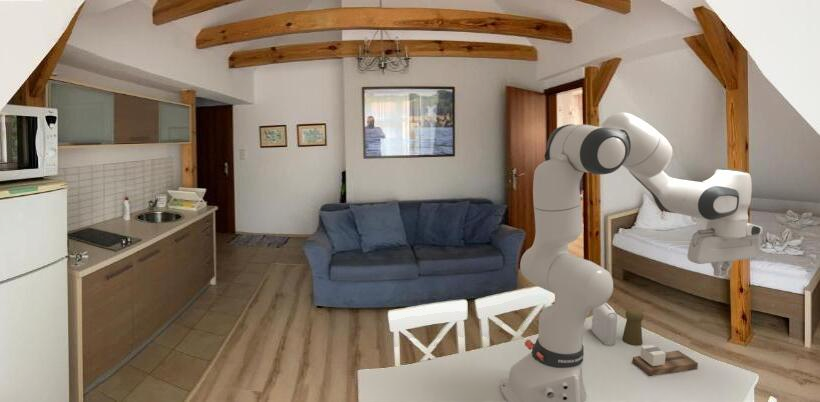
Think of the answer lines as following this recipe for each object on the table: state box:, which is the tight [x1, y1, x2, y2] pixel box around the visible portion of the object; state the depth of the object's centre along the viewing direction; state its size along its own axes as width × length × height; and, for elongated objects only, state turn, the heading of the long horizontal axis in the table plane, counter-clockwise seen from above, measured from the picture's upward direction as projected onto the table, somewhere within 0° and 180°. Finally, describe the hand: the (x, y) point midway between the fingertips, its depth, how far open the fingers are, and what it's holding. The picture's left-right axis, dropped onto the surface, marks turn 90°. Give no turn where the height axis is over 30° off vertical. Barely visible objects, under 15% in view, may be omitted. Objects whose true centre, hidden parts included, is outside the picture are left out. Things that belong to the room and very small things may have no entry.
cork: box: [621, 308, 644, 347], centre depth 134 cm, size 6×6×11 cm
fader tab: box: [639, 344, 666, 366], centre depth 119 cm, size 4×5×4 cm
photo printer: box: [591, 302, 618, 346], centre depth 136 cm, size 10×4×12 cm, turn 1°
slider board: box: [632, 350, 699, 377], centre depth 121 cm, size 16×7×2 cm, turn 101°
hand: (720, 275), depth 113 cm, fingers closed
